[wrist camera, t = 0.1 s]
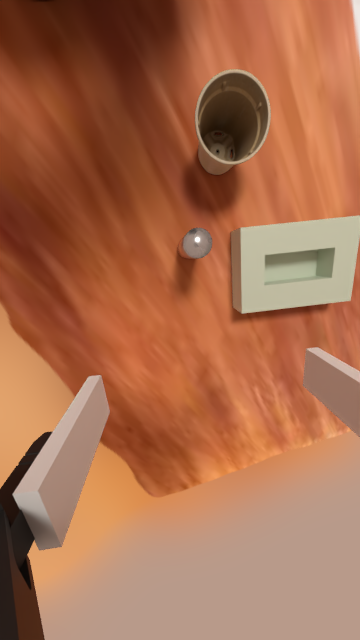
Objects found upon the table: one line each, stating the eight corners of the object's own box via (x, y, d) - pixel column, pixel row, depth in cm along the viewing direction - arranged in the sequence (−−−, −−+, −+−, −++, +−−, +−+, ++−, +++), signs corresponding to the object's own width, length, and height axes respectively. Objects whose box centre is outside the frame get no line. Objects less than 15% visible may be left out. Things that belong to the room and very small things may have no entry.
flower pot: (199, 195, 35) (210, 176, 27) (178, 132, 32) (183, 88, 24) (251, 173, 35) (278, 146, 26) (235, 107, 32) (259, 54, 24)
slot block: (230, 231, 37) (240, 227, 32) (337, 220, 38) (362, 215, 33) (232, 307, 41) (241, 313, 36) (329, 295, 42) (350, 300, 37)
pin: (176, 238, 37) (182, 229, 25) (196, 236, 37) (211, 226, 25) (178, 259, 38) (185, 259, 26) (198, 257, 38) (213, 256, 26)
